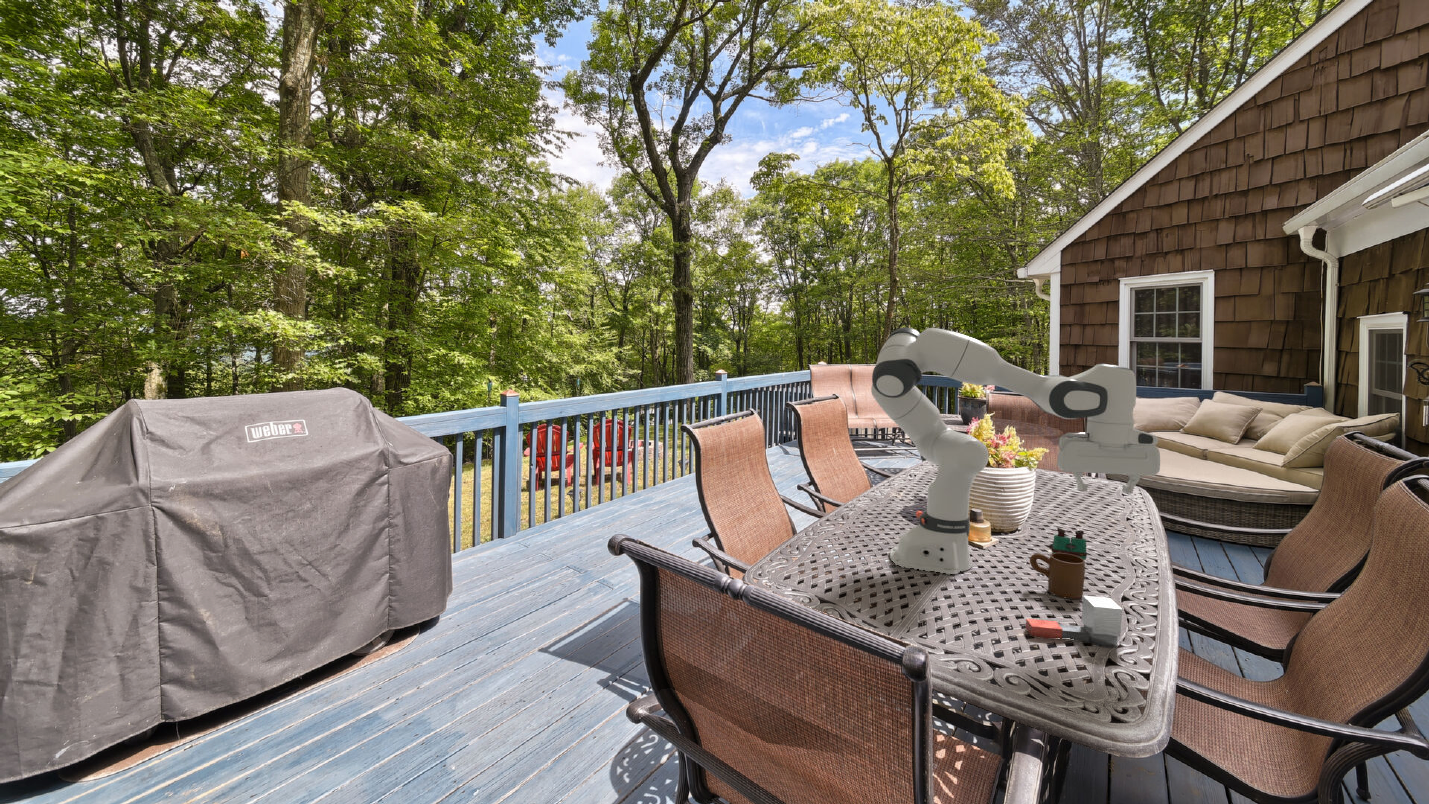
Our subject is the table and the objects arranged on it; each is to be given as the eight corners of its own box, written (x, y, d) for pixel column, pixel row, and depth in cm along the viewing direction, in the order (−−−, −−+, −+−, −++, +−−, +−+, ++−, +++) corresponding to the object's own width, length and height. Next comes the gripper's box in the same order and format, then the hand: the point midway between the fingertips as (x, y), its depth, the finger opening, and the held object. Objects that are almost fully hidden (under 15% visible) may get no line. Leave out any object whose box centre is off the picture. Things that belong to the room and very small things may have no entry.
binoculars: (1081, 525, 162) (1090, 533, 152) (1080, 561, 162) (1089, 570, 152) (1047, 522, 165) (1053, 529, 156) (1045, 556, 165) (1052, 565, 156)
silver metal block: (1092, 633, 114) (1094, 606, 114) (1081, 621, 119) (1083, 595, 119) (1120, 636, 113) (1122, 609, 113) (1107, 624, 118) (1109, 597, 118)
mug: (1026, 590, 140) (1029, 555, 139) (1029, 580, 147) (1031, 546, 146) (1082, 603, 133) (1085, 566, 133) (1083, 591, 140) (1085, 556, 139)
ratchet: (1033, 639, 117) (1034, 615, 116) (1023, 625, 122) (1025, 602, 122) (1122, 649, 113) (1124, 624, 113) (1108, 634, 119) (1110, 610, 118)
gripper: (1065, 434, 125) (1061, 492, 127) (1166, 437, 121) (1161, 498, 123) (1054, 430, 132) (1050, 485, 133) (1150, 433, 127) (1145, 490, 129)
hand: (1104, 491), depth 128 cm, fingers open, 8 cm apart
